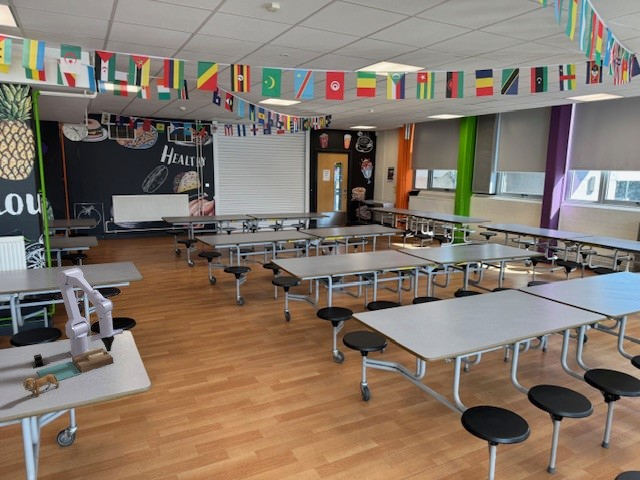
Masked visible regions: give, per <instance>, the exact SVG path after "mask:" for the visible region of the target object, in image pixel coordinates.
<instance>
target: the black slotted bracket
mask: <svg viewBox="0 0 640 480" xmlns="http://www.w3.org/2000/svg"><path fill="white" fill-rule="evenodd" d="M30 364H31V367H32V369H38V368H41V367H45V366H48V364H47V363H46V360H45V359H44V358H43V356H42V354H41V353H39V354H35V355H33V361H31V362H30Z"/></svg>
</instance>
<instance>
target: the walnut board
mask: <svg viewBox="0 0 640 480" xmlns="http://www.w3.org/2000/svg"><path fill="white" fill-rule="evenodd" d="M98 349H99V350H101V351H102V352H103V353H104V357H103V358H100V359H96V360H93V361H90V360H89V359H88V358H87V357H86V356H85V353H82V354H79V355H75V356H73V355H71V362H72V363H73V364H74V366H75V367H76V368H77V369H78V370H79V372H80V373H81V374H83V373H86V372H89V371H93V370H96V369H97V370H98V369H100V368H103V367H107V366H110V365H112V364H114V357H113V356H112V355H111V354H110V352H107V350H105V349H104V347H101V348H98Z"/></svg>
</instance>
